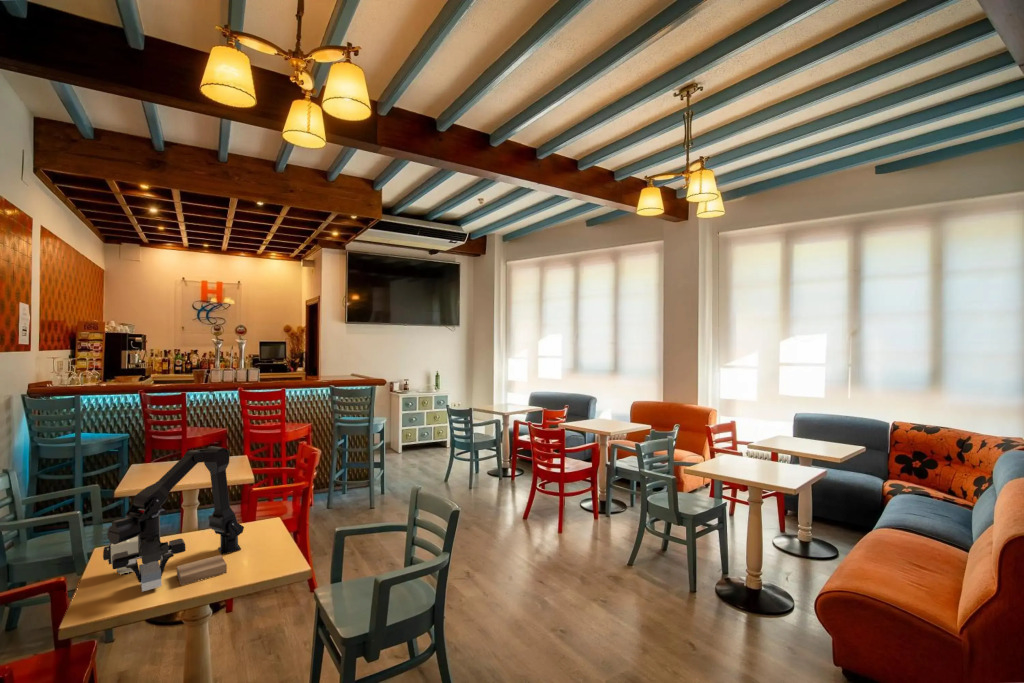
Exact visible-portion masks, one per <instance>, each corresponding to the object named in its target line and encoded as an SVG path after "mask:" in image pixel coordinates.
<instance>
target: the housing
mask: <svg viewBox="0 0 1024 683" xmlns="http://www.w3.org/2000/svg"><path fill="white" fill-rule="evenodd" d="M138 568H139V572H140V577H141V582H140V583H139V584H140V589H141V592H146V591H150V590H152V589H156V588H160V587H162V576H161V568H160V561H154V562H150V563H148V564H143V563H142V564H138Z"/></svg>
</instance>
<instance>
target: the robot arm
mask: <svg viewBox="0 0 1024 683" xmlns="http://www.w3.org/2000/svg"><path fill="white" fill-rule="evenodd" d="M230 456H231V455H230V450H229V449H228V448H225V447H220V446H213V445H212V446H208V447H206V448H204V449H195V450H194V449H192V450H188V451H186V452H185V454H184V455H183V456H182V458H181V459H179V460H178V461H177V462H176V463H175V464H174V465H173V466H171V468H169V470H168V471H167V472H166V473H164V475H163V476H162V477H161V478H160V479H159V480H157V481H156V482H154V483H152V484H150V485H148V486H146V487H145V488H143V489H141V490H140V492H138V493H136V495H135V496H134V497H133V502H132V504H131V505H130V506H129V508H128V510H127V511H126V513H124V516H125V517H123V518H121V519H115V520H113V521H111V525H110V526H109V527H108V529H107V530H108V531H107V532H106V535H107V538H108V541H109V543H110V542H111V543H112V544H114V545H115V544H118V543H121V542H123V541H126V540H129V539H131V538H134V537H137V536H138V552H137V553H133V554H129V555H128V551H125V552H121V553H117V554H114V555H113V556H112V564H111V566H112V569H113V570H117V569H118V568H122V567H126V568H131V569H132V570H133V573H134V574H135V577H136V580H137V581H138V583H139V584H140V582H141V577H140V572H139V563H138V560H140V559H139V558H141V563H142V564H148V563H150V562H154V561H158V562H159V565H160V568H161V577H162V576H163V573H164V572H165V571H164V570H165V567H166V565H167V563H168V561H169V559H171V558H173V557H174V556H175V555H177V554H181V553H184V552H186V542H185V541H184V539H183V538H177V539H173V540H168V541H163V542H161V522H160V521H161V520H160V517H161V515H163V514H167V513H168V511H167V510H166V509H164V508H163V507H162V506H163V505H164V503H166V501H167V500H168V497H169V493H170V492H171V491H172V489H174V487H176V485H177V484H178V483H180V482H181V480H182V479H183V478H185V476H186V475H187V474H189V472H190V471H191V470H192V469H194V467H196V465H197V464H199V463H204V466H205V467H206V469H207V470H208V472H209V474H210V482H211V484H210V485H211V491H212V498H213V499H212V500H213V509H214V510H213V512H212V514H211V515H208V522H209V525H208V527H210V528H211V530H213V531H214V533H215V534H216V535H219V536H220V542H219V545H220V546H219V547H217V549H218V550H217V551H218V552H219V553H220V555H221V556H222V555H226V554H231V553H234V552H238V551H241V550H242V548H241V546H240V545H239V536H240V535H241V534H243V532H244V529H245V526H243V525H242V524H240V523H239V522H238V520H237V515H236V513H235V512H234V510H233V509H232V508H231V504H230V496H229V487H228V486H229V485H228V479H227V468H228V466H229V464H230ZM140 511H141V512H140ZM142 511H143V512H142Z"/></svg>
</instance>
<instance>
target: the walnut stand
mask: <svg viewBox="0 0 1024 683" xmlns="http://www.w3.org/2000/svg"><path fill="white" fill-rule="evenodd" d="M227 567H228V566H227V563H226V561H225V559H224V558H223V556H222V555H221V554H219V555H214V556H212V557H207V558H203V559H200V560H195V561H192V562H188V563H184V564H180V565H177V566H176V576H177V580H178V581H180V582H179V585H180V584H181V585H183V586H186V585H189V584H188V583H190V584H192V583H191V582H193V583H196V582H195V581H197V582H199V581H198V580H200V581H202V580H201V579H204V580H206V579H205V578H207V579H210V578H209V577H211V578H213V576H214V577H217V576H216V575H218V576H221V575H224V574H223V573H225V574H227V571H228V570H227V569H228V568H227ZM220 574H221V575H220ZM185 584H186V585H185ZM181 585H180V586H181Z"/></svg>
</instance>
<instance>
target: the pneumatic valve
mask: <svg viewBox="0 0 1024 683" xmlns="http://www.w3.org/2000/svg"><path fill="white" fill-rule="evenodd" d="M125 551H128V555H129V554H133V553H137V552H138V535H137V536H136V537H134V538H131V539H129V540H126V541H123V542H121V543H118V544H115V545H114V544H112V543H111V542H110V541H109V544H108V545H106V546H104V547H103V553H102V558H103V559H102V560H103V561H107V562H108V565H112V556H113V555H114V554H117V553H121V552H125ZM138 560H142V558H139V559H138ZM129 572H132V573H134V571H133V570H132V569H131V568H126V567H122V568H118V569H116V573H117V574H118V575H119V574H123V575H125V574H124V573H128V574H130V573H129Z"/></svg>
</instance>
